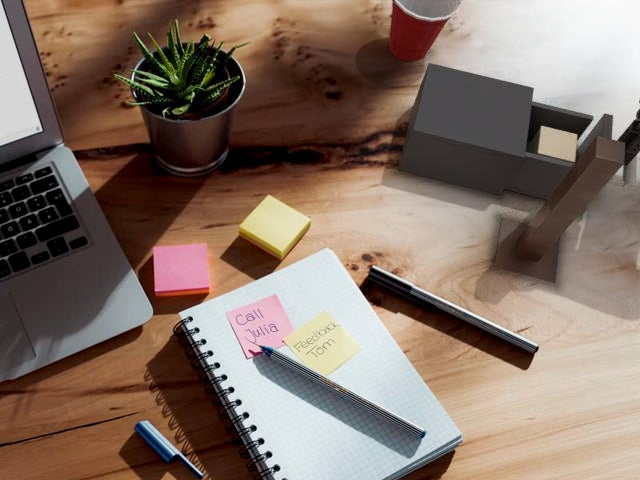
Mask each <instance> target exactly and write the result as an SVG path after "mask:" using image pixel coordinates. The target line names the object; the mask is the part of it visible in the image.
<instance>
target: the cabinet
mask: <svg viewBox="0 0 640 480" xmlns="http://www.w3.org/2000/svg"><path fill="white" fill-rule="evenodd" d="M426 67H427V68H426V69H425V73H424V76H423V77H422V81H421V83H420V86H419V89H418V91H417V94H416V97H415V99H414V102H413V104H412V108H411V111H410V117H409V120H408V124H407V129H406V132H405V138H404V141H403V145H402V149H401V153H400V157H399V162H398V166H397V171H400V172H403V173H408V174H411V175H415V176H419V177H423V178H427V179H430V180H434V181H438V182H443V183H446V184H450V185H454V186H458V187H461V188H465V189H470V190H474V191H477V192H481V193H485V194H489V195H493V196H498V197H501V194H502V193H503V192H504V190H505V189H504V188H505V187H506V185H507V184H508V182H509V181H510V179H511V178H512V176H513V175H514V173H515V172H516V170H517V168H518V167H519V165H520V164H521V162H522V161H523V159H524V158H525V152H526V144H527V136H528V129H529V121H530V114H531V106H532V101H533V99H534V91H535V87H532V86H528V85H524V84H520V83H516V82H512V81H508V80H503V79H499V78H494V77H490V76H486V75H482V74H477V73H474V72H469V71H465V70H461V69H457V68H452V67H448V66H445V65H440V64H436V63H432V62H428V64H427V66H426Z"/></svg>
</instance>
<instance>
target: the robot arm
mask: <svg viewBox="0 0 640 480" xmlns="http://www.w3.org/2000/svg"><path fill="white" fill-rule="evenodd" d="M638 104H639V105H640V99H639V101H638ZM617 141H621V142H625V156H624V164H623V165H624V166H627V165H628V164H629V163H630V162H631V161H632V160H633V158H634V157H635V156H636V155H637V156H638V155H639V153H640V108H639V109H637V111H636V114H635V119H633V120H632V122H631V123H630V124H629V125H628V127H627V128H626V129H625V130H624V132H622V134H621V135H620V136H619V137H618V138H617Z"/></svg>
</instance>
